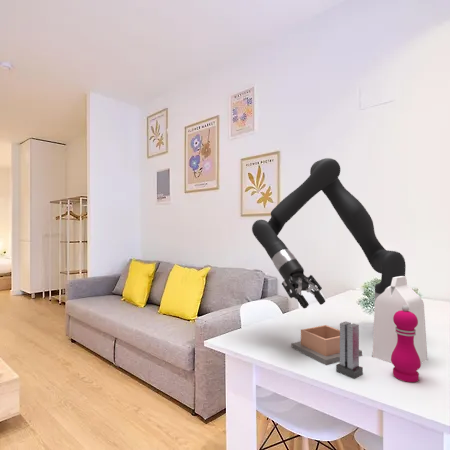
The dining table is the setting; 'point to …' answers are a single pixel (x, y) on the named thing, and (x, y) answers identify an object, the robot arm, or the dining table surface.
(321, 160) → the robot arm
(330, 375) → the dining table surface
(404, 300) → the milk
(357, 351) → the twin upright plate stand
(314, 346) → the holder
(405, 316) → the pepper mill
